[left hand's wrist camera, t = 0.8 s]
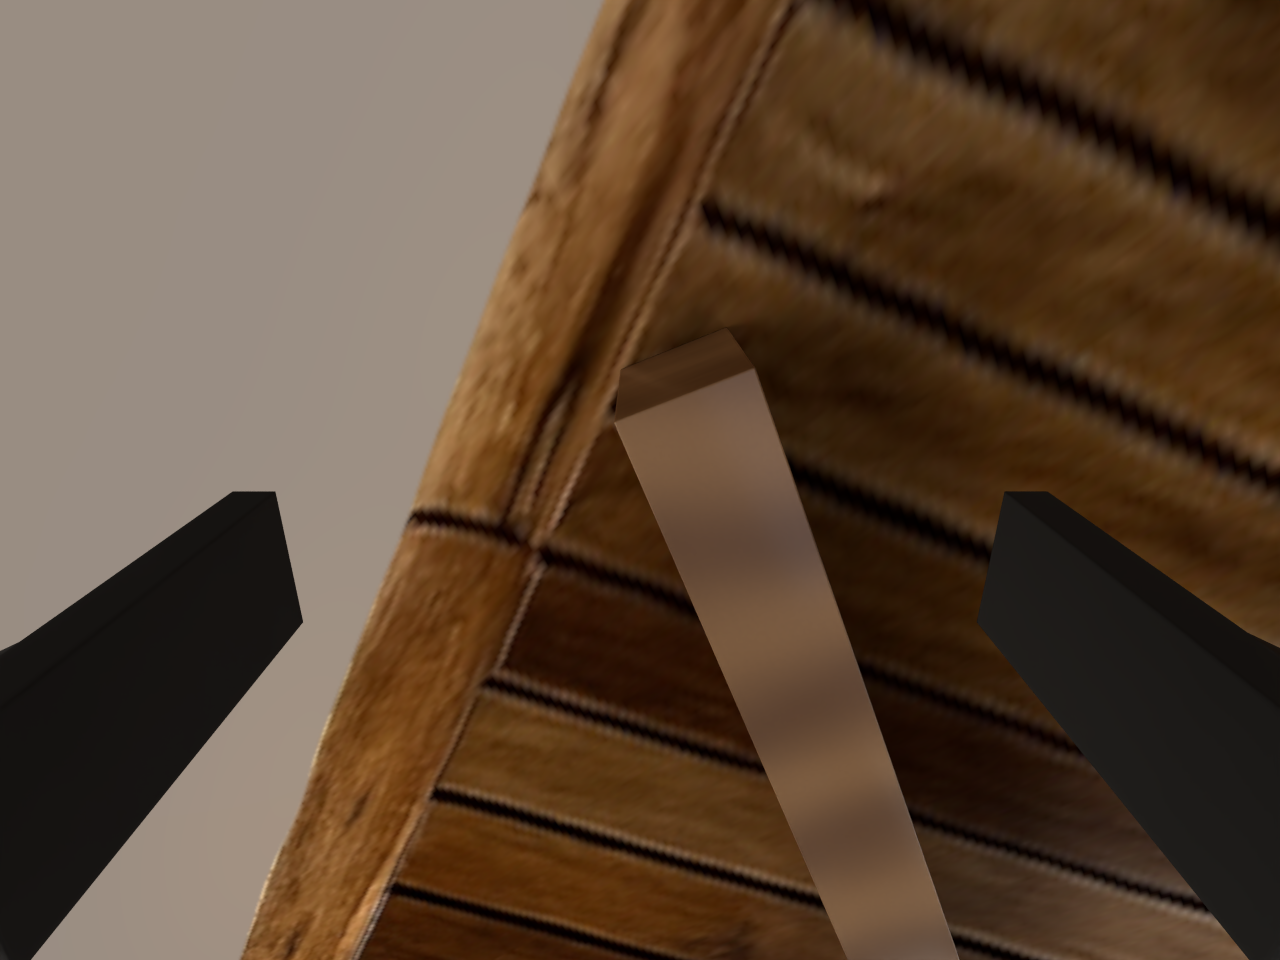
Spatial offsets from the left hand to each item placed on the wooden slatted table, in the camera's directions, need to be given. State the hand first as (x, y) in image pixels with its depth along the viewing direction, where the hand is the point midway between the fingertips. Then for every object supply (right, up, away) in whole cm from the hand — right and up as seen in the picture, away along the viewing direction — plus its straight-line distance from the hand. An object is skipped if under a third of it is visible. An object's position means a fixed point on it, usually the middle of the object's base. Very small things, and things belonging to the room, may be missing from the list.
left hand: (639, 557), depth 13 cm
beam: (+12, -18, +28) cm, 35 cm away
